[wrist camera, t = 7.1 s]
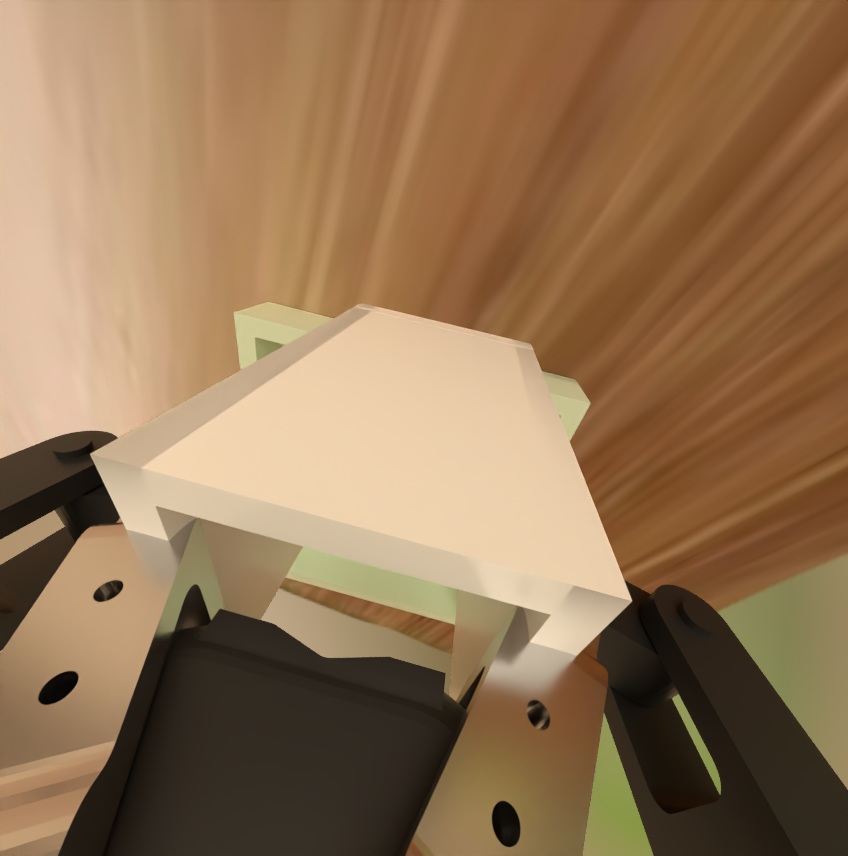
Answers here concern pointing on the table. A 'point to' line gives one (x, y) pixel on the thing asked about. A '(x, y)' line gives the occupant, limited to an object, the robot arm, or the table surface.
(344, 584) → the tray
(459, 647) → the mini side table
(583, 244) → the table surface
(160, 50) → the table surface
